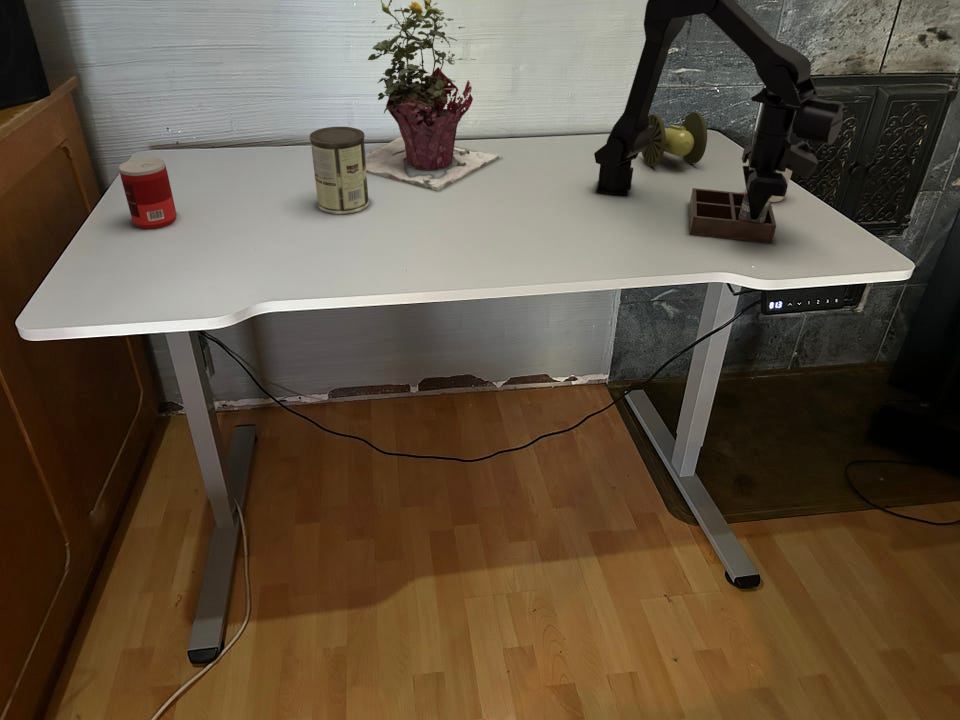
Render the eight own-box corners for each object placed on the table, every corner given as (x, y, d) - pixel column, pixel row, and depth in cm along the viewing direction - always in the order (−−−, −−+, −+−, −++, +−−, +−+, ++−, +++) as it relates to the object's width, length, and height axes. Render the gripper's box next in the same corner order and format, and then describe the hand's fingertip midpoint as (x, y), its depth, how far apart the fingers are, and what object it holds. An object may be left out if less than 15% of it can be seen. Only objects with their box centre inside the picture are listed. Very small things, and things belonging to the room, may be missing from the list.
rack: (689, 234, 141) (693, 216, 139) (689, 204, 153) (692, 187, 151) (771, 243, 138) (776, 225, 136) (764, 212, 150) (769, 195, 148)
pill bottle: (734, 216, 143) (744, 174, 138) (758, 216, 143) (768, 174, 138) (743, 226, 139) (754, 184, 134) (768, 226, 139) (779, 183, 134)
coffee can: (336, 191, 155) (329, 123, 147) (378, 200, 152) (374, 131, 144) (306, 208, 147) (298, 137, 139) (350, 218, 144) (344, 146, 136)
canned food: (186, 215, 143) (173, 160, 137) (158, 232, 137) (144, 174, 131) (152, 209, 145) (139, 154, 139) (124, 225, 139) (108, 168, 133)
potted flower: (498, 158, 173) (504, -8, 154) (437, 190, 156) (435, 9, 136) (407, 136, 185) (401, -21, 165) (341, 164, 168) (326, -7, 148)
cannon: (615, 139, 186) (621, 93, 180) (659, 137, 189) (666, 91, 182) (657, 175, 166) (665, 124, 160) (706, 172, 169) (716, 121, 162)
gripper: (830, 152, 122) (804, 239, 131) (814, 119, 137) (791, 199, 146) (759, 146, 124) (738, 232, 133) (751, 114, 139) (733, 193, 148)
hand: (752, 213), depth 140 cm, fingers closed on pill bottle, 5 cm apart
